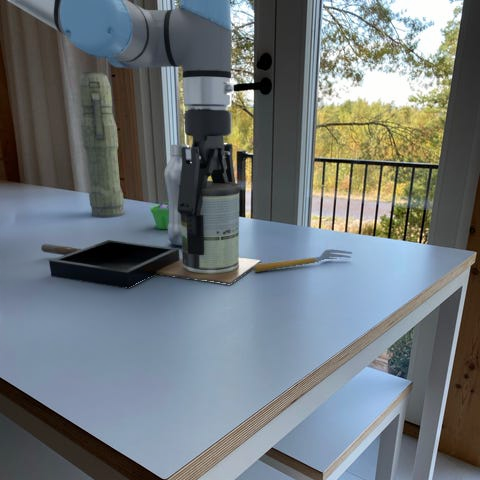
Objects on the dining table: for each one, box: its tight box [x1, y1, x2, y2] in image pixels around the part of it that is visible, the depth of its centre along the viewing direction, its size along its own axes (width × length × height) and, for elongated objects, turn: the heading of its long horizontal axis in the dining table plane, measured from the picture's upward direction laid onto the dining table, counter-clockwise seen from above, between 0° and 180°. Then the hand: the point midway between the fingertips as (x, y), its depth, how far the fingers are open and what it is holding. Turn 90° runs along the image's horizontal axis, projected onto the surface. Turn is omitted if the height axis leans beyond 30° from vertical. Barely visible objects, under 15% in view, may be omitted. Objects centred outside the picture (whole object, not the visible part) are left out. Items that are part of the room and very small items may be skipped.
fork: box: [253, 248, 353, 273], centre depth 87 cm, size 2×2×20 cm
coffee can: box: [179, 180, 241, 274], centre depth 82 cm, size 10×10×14 cm
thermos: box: [78, 71, 125, 218], centre depth 125 cm, size 9×12×35 cm
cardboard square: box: [156, 257, 262, 284], centre depth 85 cm, size 14×14×1 cm
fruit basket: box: [149, 192, 169, 230], centre depth 115 cm, size 11×9×11 cm
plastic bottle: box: [163, 144, 190, 247], centre depth 97 cm, size 6×7×20 cm
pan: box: [40, 239, 180, 289], centre depth 86 cm, size 25×16×3 cm, turn 67°
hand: (210, 246), depth 84 cm, fingers open, 10 cm apart
